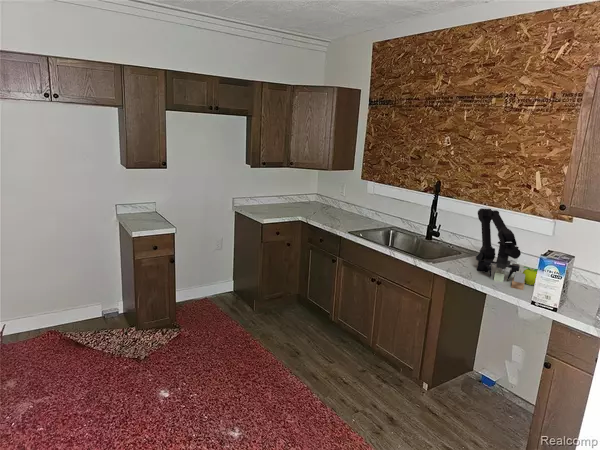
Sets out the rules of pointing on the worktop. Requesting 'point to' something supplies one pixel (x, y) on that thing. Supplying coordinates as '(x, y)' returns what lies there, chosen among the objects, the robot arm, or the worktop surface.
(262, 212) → the worktop surface
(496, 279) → the sage cube
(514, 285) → the tower base
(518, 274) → the tower mid
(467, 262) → the worktop surface
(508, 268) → the supplement box
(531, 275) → the fruit
